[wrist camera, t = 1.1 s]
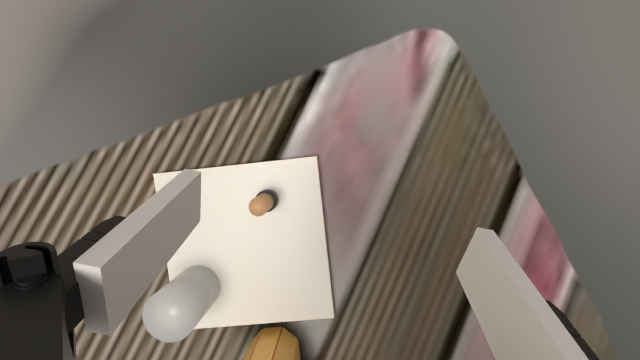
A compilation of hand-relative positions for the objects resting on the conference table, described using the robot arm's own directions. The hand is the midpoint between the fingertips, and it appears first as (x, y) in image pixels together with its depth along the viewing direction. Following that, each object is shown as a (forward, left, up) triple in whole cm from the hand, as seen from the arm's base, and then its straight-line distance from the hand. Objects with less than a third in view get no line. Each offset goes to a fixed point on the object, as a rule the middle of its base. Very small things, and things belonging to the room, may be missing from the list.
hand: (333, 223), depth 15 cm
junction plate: (-8, +13, -28) cm, 32 cm away
